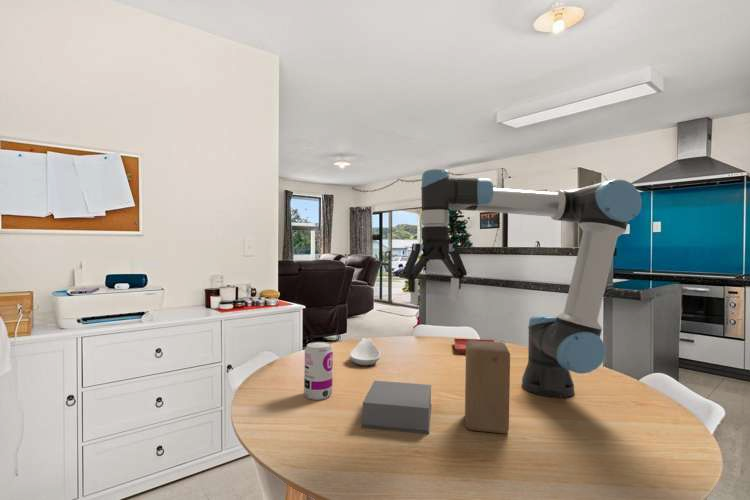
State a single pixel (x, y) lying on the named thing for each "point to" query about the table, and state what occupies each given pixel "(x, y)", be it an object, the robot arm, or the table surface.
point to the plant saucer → (464, 344)
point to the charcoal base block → (398, 407)
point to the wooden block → (487, 386)
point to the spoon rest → (365, 353)
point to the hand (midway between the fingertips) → (435, 302)
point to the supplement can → (318, 370)
